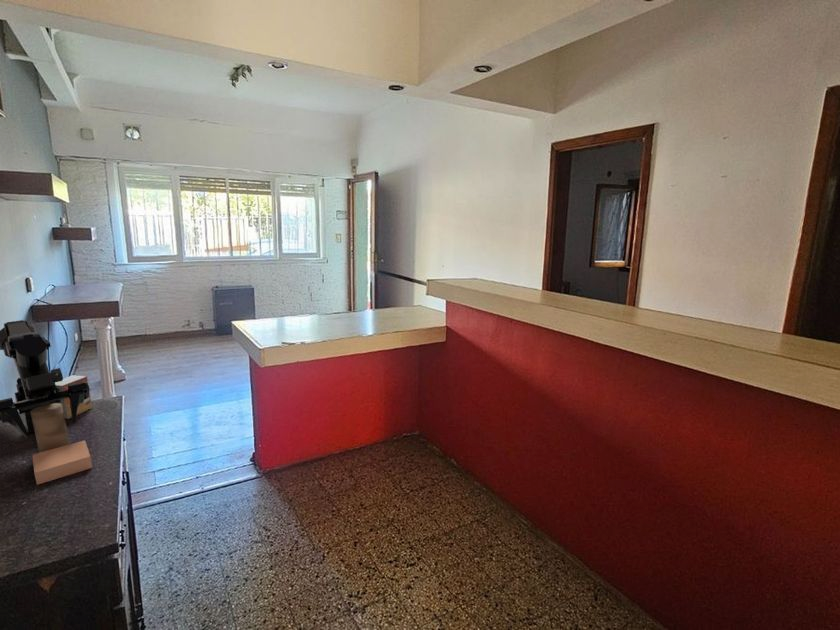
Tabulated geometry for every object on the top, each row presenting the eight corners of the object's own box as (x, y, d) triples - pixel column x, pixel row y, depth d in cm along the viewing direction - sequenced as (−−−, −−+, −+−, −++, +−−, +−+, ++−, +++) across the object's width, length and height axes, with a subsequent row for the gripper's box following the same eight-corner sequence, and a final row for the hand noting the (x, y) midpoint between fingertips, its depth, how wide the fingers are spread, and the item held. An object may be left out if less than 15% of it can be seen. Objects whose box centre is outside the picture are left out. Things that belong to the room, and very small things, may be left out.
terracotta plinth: (34, 466, 104) (32, 454, 103) (86, 451, 111) (84, 440, 110) (37, 484, 97) (34, 472, 96) (92, 467, 103) (90, 456, 103)
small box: (67, 419, 127) (61, 386, 125) (52, 417, 128) (45, 384, 126) (93, 408, 135) (87, 376, 132) (78, 406, 136) (72, 374, 133)
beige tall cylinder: (49, 447, 112) (40, 404, 109) (75, 445, 113) (67, 402, 111) (34, 460, 106) (24, 414, 104) (61, 457, 108) (52, 412, 105)
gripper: (-19, 370, 100) (-3, 430, 96) (81, 352, 114) (99, 403, 109) (-14, 393, 107) (1, 449, 103) (79, 373, 121) (96, 422, 116)
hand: (51, 429), depth 107 cm, fingers open, 9 cm apart
